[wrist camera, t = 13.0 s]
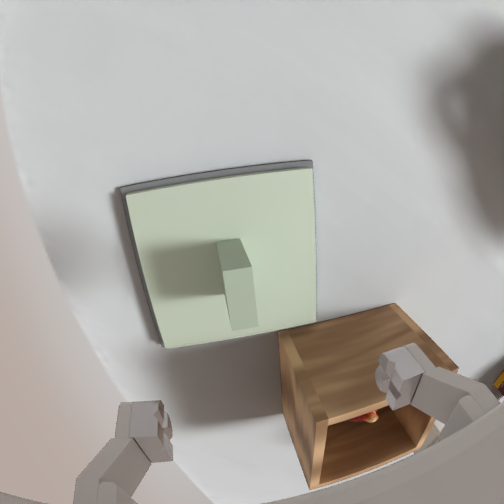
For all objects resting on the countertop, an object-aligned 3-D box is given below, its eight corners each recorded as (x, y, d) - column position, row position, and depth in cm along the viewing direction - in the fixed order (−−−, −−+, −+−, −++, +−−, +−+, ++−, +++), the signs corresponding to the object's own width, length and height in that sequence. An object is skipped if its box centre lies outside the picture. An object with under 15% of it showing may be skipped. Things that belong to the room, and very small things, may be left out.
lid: (128, 192, 20) (108, 214, 15) (308, 166, 21) (341, 180, 16) (165, 342, 24) (163, 389, 20) (312, 316, 26) (337, 356, 21)
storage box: (277, 331, 26) (316, 422, 17) (395, 303, 28) (458, 367, 19) (282, 413, 31) (309, 490, 22) (379, 385, 32) (420, 448, 23)
